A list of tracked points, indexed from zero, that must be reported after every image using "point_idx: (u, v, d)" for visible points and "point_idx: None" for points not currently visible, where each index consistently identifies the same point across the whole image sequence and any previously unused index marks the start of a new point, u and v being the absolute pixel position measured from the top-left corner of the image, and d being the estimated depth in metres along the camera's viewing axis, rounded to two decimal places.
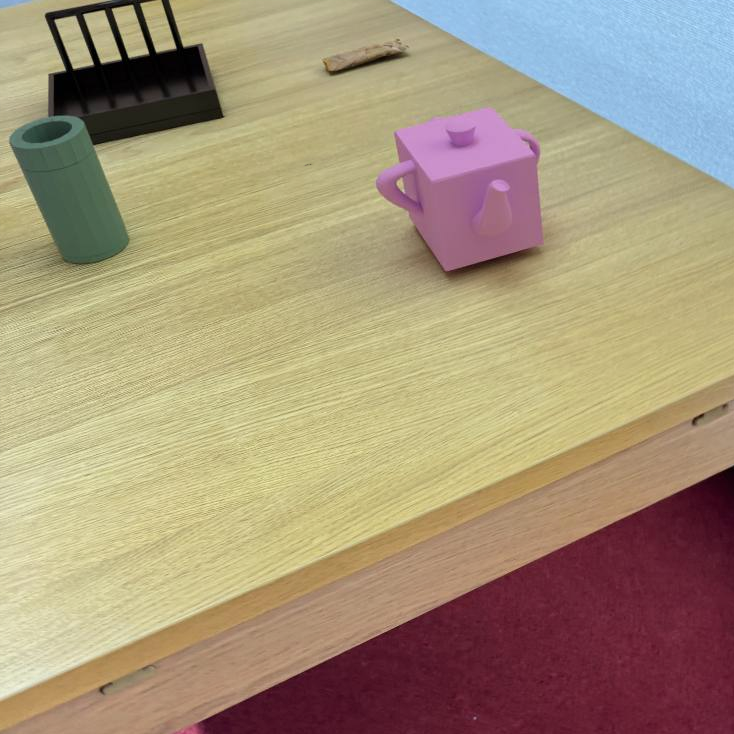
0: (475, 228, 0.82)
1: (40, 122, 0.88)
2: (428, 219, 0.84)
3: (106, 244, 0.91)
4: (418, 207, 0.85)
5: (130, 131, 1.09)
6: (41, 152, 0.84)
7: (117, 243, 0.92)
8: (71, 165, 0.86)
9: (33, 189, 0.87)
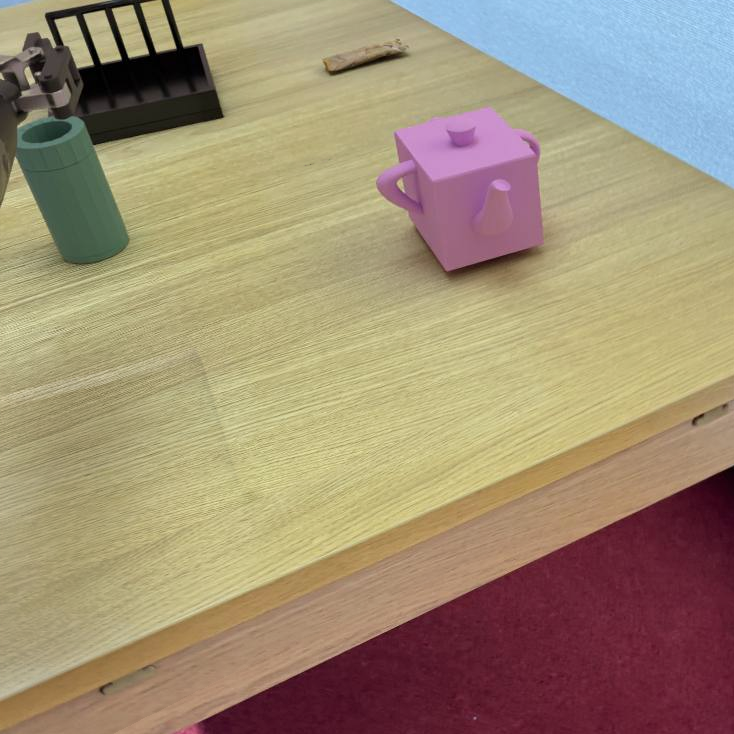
0: (476, 228, 0.82)
1: (40, 122, 0.88)
2: (428, 219, 0.84)
3: (106, 244, 0.91)
4: (418, 207, 0.85)
5: (130, 131, 1.09)
6: (41, 152, 0.84)
7: (117, 243, 0.92)
8: (71, 165, 0.86)
9: (33, 189, 0.87)
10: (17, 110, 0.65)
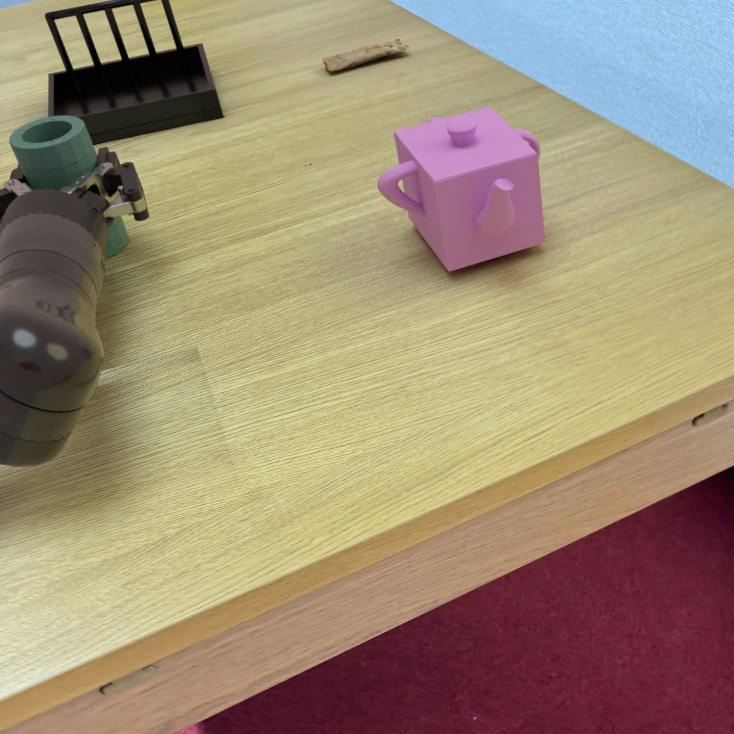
0: (478, 228, 0.82)
1: (40, 122, 0.88)
2: (430, 219, 0.84)
3: None
4: (419, 207, 0.85)
5: (130, 131, 1.09)
6: (41, 152, 0.84)
7: (117, 243, 0.92)
8: (71, 165, 0.86)
9: (33, 189, 0.87)
10: (106, 218, 0.84)
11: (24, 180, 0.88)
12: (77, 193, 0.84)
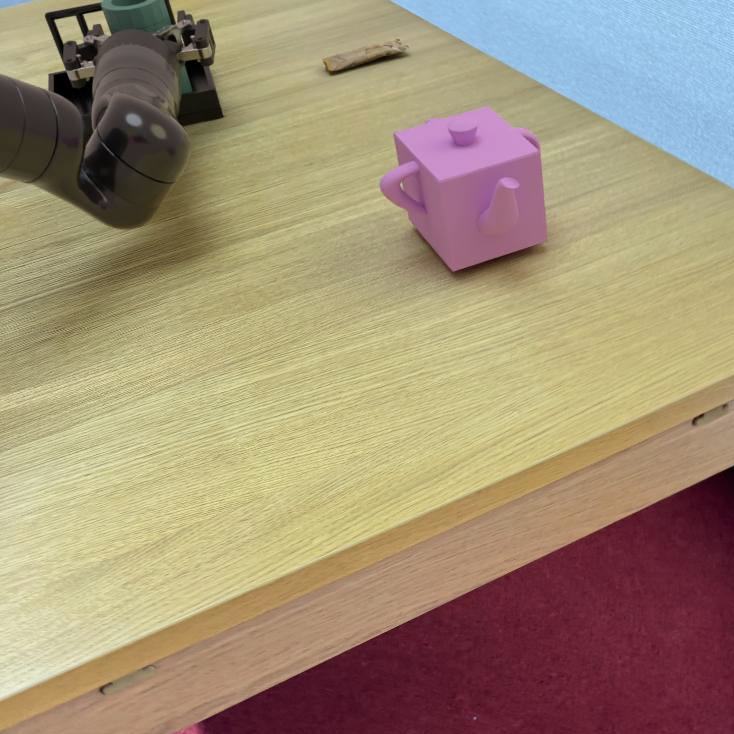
0: (482, 227, 0.82)
1: None
2: (433, 220, 0.84)
3: None
4: (422, 208, 0.85)
5: None
6: (128, 13, 1.03)
7: None
8: (151, 26, 1.05)
9: None
10: (179, 60, 1.02)
11: (99, 37, 1.05)
12: None
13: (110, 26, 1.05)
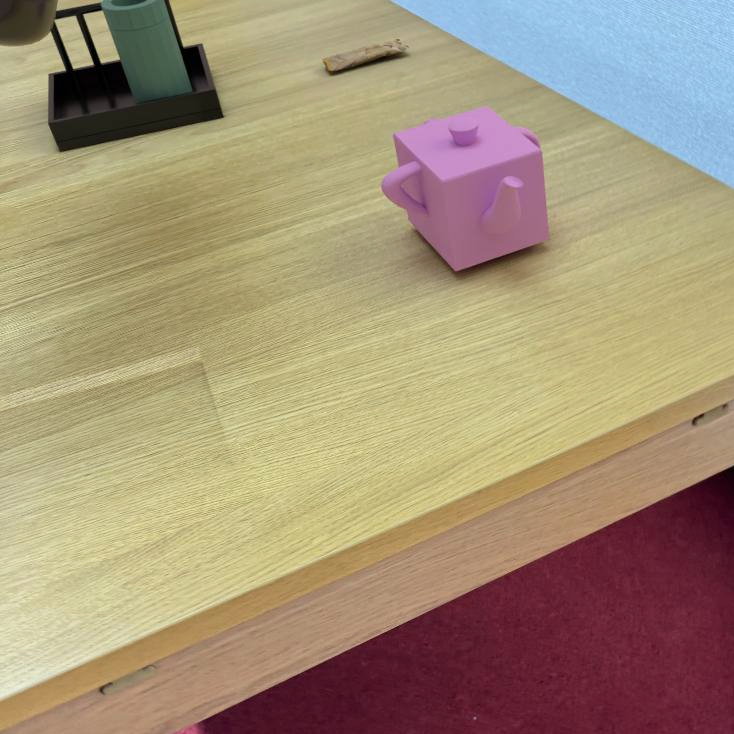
0: (485, 227, 0.82)
1: None
2: (435, 220, 0.84)
3: None
4: (423, 208, 0.85)
5: (130, 131, 1.09)
6: (128, 13, 1.03)
7: None
8: (151, 26, 1.05)
9: (119, 47, 1.06)
10: None
11: None
12: None
13: (110, 26, 1.05)
